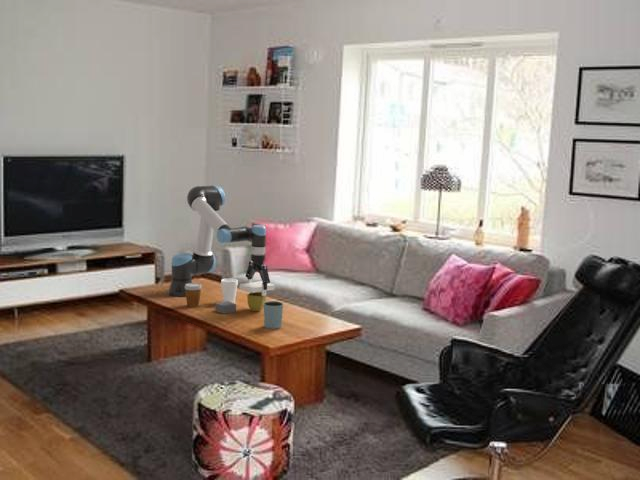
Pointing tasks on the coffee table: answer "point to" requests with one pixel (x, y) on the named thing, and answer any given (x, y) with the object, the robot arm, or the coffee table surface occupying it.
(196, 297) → the disposable coffee cup
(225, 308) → the stand
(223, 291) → the foam cup
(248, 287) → the lid
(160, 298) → the coffee table surface
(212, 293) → the coffee table surface
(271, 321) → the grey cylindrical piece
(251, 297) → the flower pot
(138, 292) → the coffee table surface
